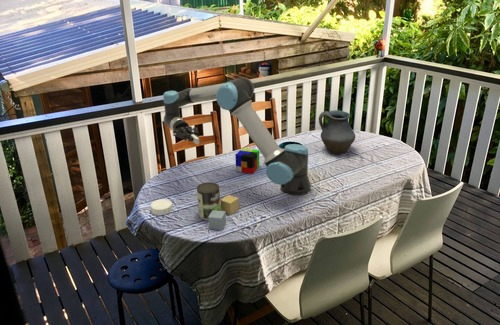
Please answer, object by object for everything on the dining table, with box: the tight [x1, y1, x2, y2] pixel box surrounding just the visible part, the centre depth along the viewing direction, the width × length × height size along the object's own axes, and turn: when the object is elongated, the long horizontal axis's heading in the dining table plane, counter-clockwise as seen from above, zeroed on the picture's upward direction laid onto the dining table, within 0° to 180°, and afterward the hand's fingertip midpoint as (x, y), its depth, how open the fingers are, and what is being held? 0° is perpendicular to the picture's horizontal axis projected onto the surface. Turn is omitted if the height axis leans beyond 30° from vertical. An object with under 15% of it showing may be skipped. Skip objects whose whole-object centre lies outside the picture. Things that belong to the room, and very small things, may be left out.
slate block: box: [207, 210, 227, 231], centre depth 197 cm, size 6×6×6 cm
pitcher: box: [318, 109, 356, 155], centre depth 264 cm, size 21×22×25 cm
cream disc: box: [150, 198, 173, 216], centre depth 211 cm, size 10×10×4 cm
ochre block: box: [220, 194, 240, 215], centre depth 209 cm, size 6×6×6 cm
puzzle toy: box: [234, 147, 260, 175], centre depth 248 cm, size 10×10×10 cm
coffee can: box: [196, 181, 221, 221], centre depth 204 cm, size 10×10×14 cm
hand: (197, 141), depth 209 cm, fingers closed
